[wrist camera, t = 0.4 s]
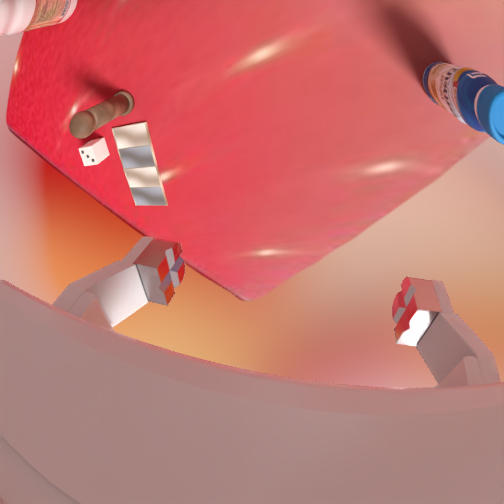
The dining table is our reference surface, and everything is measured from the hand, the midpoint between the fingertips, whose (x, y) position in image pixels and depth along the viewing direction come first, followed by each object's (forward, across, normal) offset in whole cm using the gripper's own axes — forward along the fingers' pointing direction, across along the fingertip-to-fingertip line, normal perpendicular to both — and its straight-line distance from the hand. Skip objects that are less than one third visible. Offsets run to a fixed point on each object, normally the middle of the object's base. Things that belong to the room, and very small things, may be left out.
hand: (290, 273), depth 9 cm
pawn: (+38, +36, -2) cm, 53 cm away
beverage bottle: (+40, -21, -10) cm, 46 cm away
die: (+39, +46, +7) cm, 61 cm away
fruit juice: (+35, +50, -30) cm, 68 cm away
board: (+40, +35, +12) cm, 55 cm away
